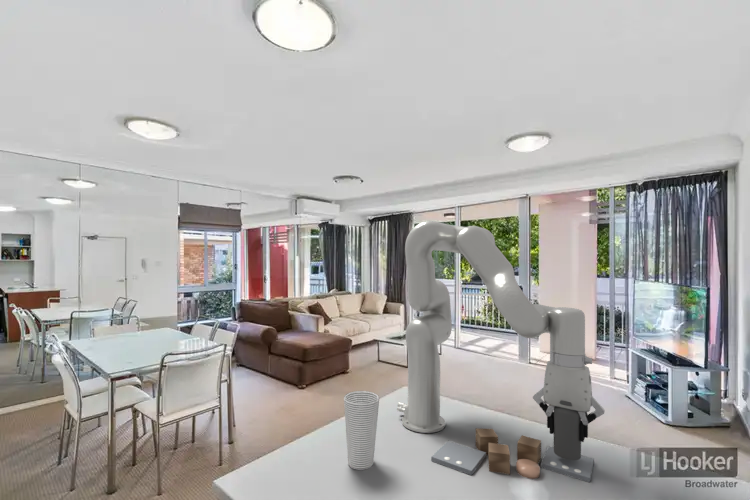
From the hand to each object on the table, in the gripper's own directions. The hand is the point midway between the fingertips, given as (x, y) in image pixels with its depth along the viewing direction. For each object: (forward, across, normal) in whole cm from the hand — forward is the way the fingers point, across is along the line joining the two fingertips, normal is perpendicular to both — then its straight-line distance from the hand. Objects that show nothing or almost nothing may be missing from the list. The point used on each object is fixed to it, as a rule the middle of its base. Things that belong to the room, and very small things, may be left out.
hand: (567, 434), depth 88 cm
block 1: (+7, +18, +5) cm, 20 cm away
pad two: (+7, +22, +13) cm, 26 cm away
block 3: (+7, +8, +3) cm, 11 cm away
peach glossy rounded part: (+7, +7, +9) cm, 13 cm away
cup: (+7, +40, +29) cm, 50 cm away
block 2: (+7, +13, +11) cm, 18 cm away
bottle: (+5, 0, 0) cm, 5 cm away
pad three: (+7, 0, 0) cm, 7 cm away
